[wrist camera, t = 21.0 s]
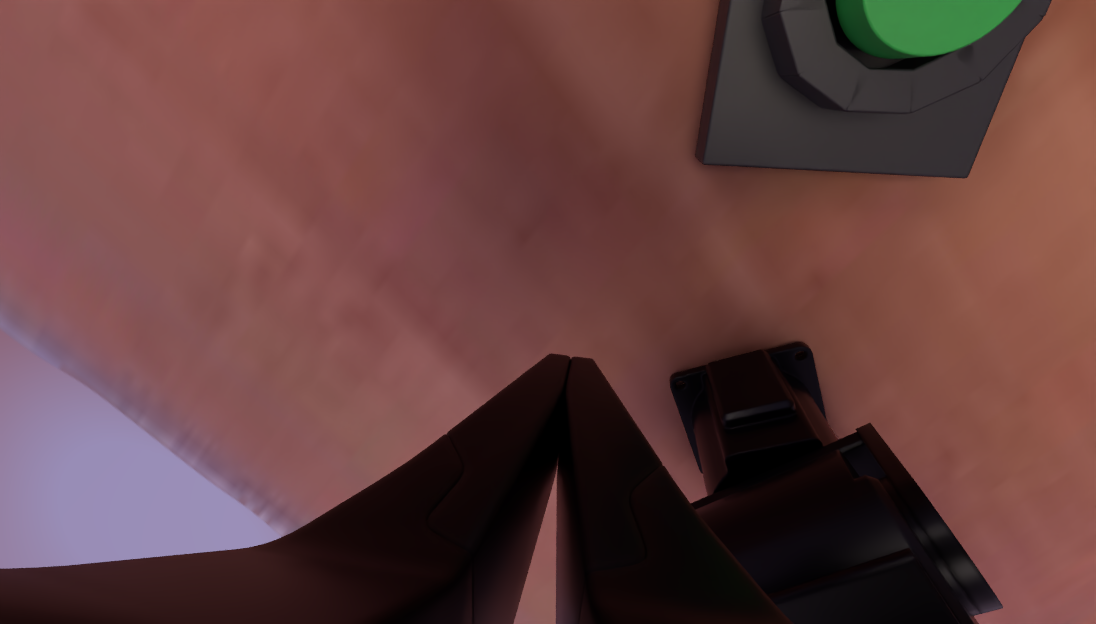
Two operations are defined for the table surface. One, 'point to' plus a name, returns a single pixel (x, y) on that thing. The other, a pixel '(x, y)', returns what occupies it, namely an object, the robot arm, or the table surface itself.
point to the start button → (919, 24)
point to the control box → (847, 94)
